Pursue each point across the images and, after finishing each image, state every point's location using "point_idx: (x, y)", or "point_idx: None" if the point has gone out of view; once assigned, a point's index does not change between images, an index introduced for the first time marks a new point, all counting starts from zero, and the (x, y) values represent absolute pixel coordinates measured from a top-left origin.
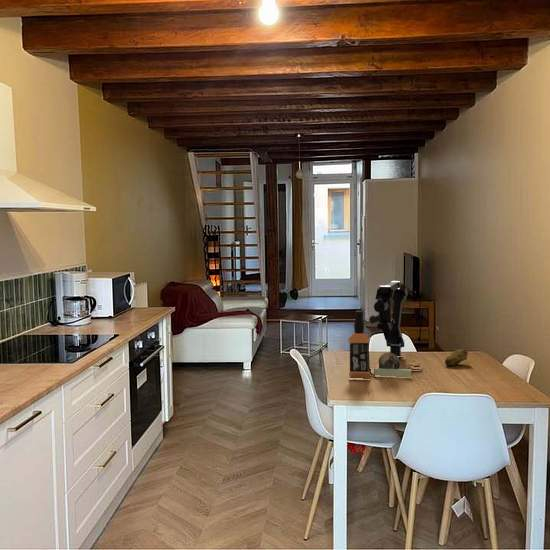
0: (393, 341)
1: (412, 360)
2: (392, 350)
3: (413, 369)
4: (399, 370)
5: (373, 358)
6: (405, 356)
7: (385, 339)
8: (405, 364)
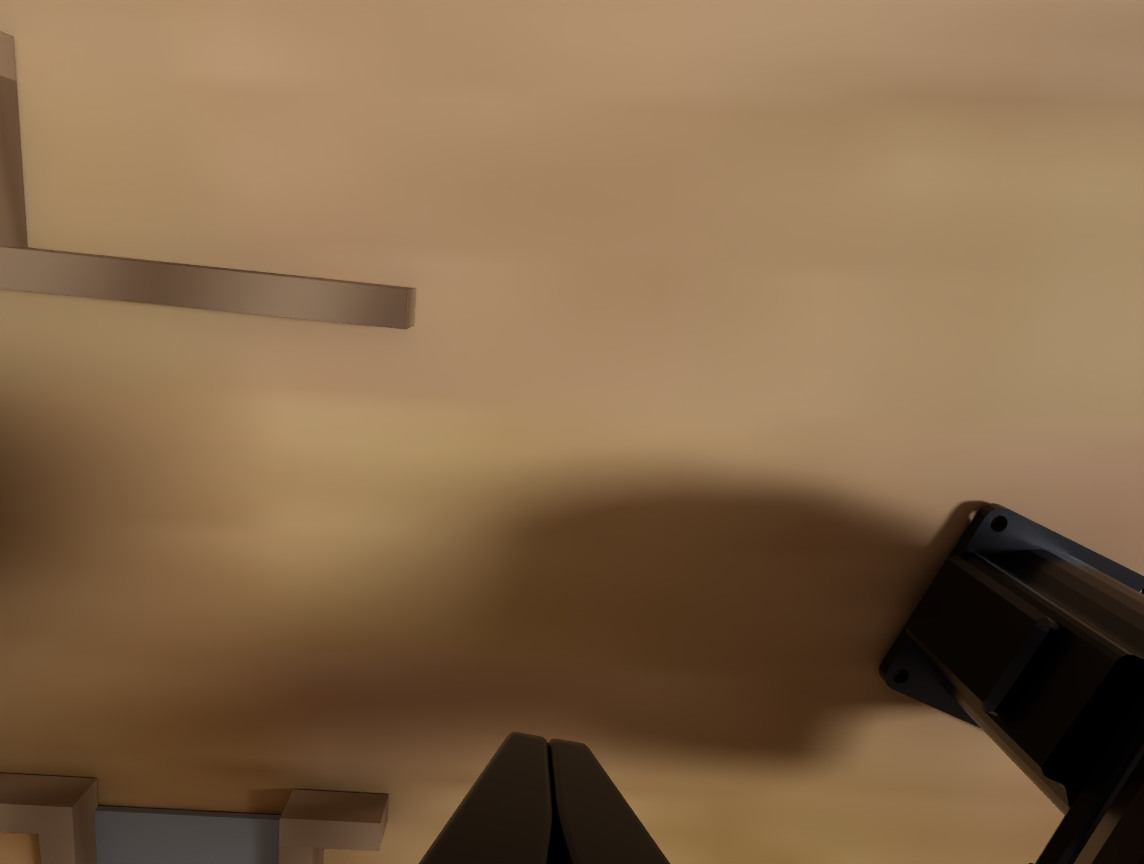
0: (1136, 845)
1: (778, 852)
2: (1013, 654)
3: (46, 854)
4: None
5: (978, 230)
6: None
7: (503, 746)
8: None
